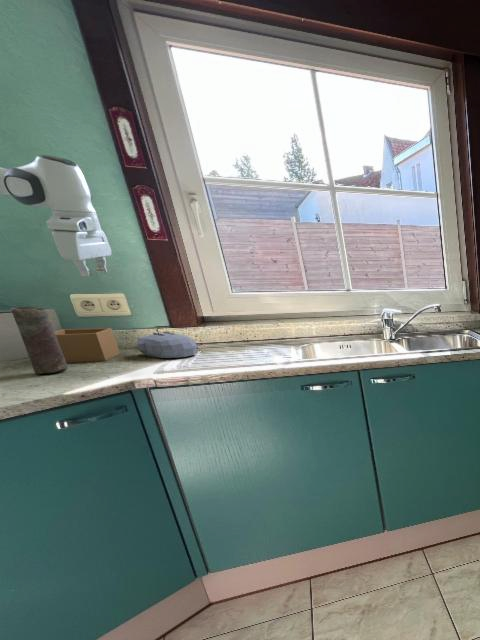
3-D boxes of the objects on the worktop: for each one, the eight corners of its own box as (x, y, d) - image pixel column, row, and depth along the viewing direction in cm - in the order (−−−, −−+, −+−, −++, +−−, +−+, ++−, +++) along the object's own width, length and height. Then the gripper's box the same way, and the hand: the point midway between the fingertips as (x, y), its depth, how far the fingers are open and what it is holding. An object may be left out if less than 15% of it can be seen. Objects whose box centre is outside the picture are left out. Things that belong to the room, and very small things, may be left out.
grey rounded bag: (133, 355, 180) (162, 362, 172) (125, 332, 177) (155, 338, 169) (180, 349, 193) (210, 355, 185) (173, 328, 190) (203, 332, 182)
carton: (54, 363, 166) (43, 335, 163) (72, 356, 177) (62, 329, 174) (105, 360, 172) (96, 333, 168) (120, 353, 183) (111, 328, 179)
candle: (54, 369, 158) (29, 305, 151) (76, 370, 158) (52, 306, 151) (28, 374, 151) (0, 308, 144) (51, 375, 151) (24, 308, 144)
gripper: (82, 221, 145) (98, 270, 151) (42, 222, 128) (61, 277, 134) (109, 223, 148) (124, 271, 153) (73, 224, 131) (91, 278, 136)
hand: (94, 274), depth 144 cm, fingers open, 8 cm apart
